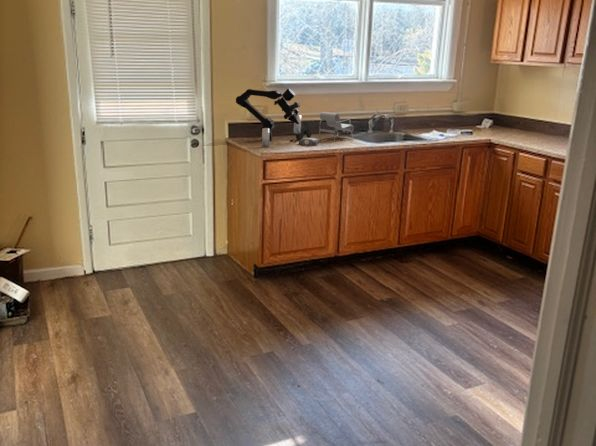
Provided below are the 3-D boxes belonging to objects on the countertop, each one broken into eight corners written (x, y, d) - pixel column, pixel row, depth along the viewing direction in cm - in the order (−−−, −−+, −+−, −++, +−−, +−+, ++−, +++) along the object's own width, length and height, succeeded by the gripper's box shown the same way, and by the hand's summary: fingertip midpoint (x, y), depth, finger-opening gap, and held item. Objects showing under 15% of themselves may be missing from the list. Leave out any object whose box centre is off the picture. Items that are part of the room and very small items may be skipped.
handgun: (311, 135, 420) (309, 121, 413) (300, 148, 410) (297, 133, 402) (309, 135, 421) (306, 120, 414) (298, 147, 411) (294, 133, 403)
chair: (318, 139, 413) (319, 112, 407) (338, 136, 431) (340, 109, 426) (333, 142, 405) (335, 114, 399) (353, 138, 423) (355, 111, 418)
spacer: (260, 147, 374) (261, 128, 370) (263, 146, 378) (263, 127, 375) (267, 147, 373) (268, 129, 369) (270, 146, 377) (270, 128, 374)
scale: (297, 144, 387) (297, 139, 386) (303, 141, 401) (303, 136, 400) (315, 146, 384) (315, 140, 383) (320, 143, 398) (320, 137, 397)
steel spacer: (295, 133, 391) (296, 115, 388) (292, 132, 395) (293, 114, 392) (301, 133, 393) (302, 115, 389) (299, 132, 397) (299, 114, 394)
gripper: (289, 98, 380) (304, 117, 380) (296, 96, 397) (311, 114, 397) (277, 110, 384) (292, 128, 384) (285, 107, 401) (299, 124, 402)
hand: (299, 123), depth 392 cm, fingers closed on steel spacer, 5 cm apart
